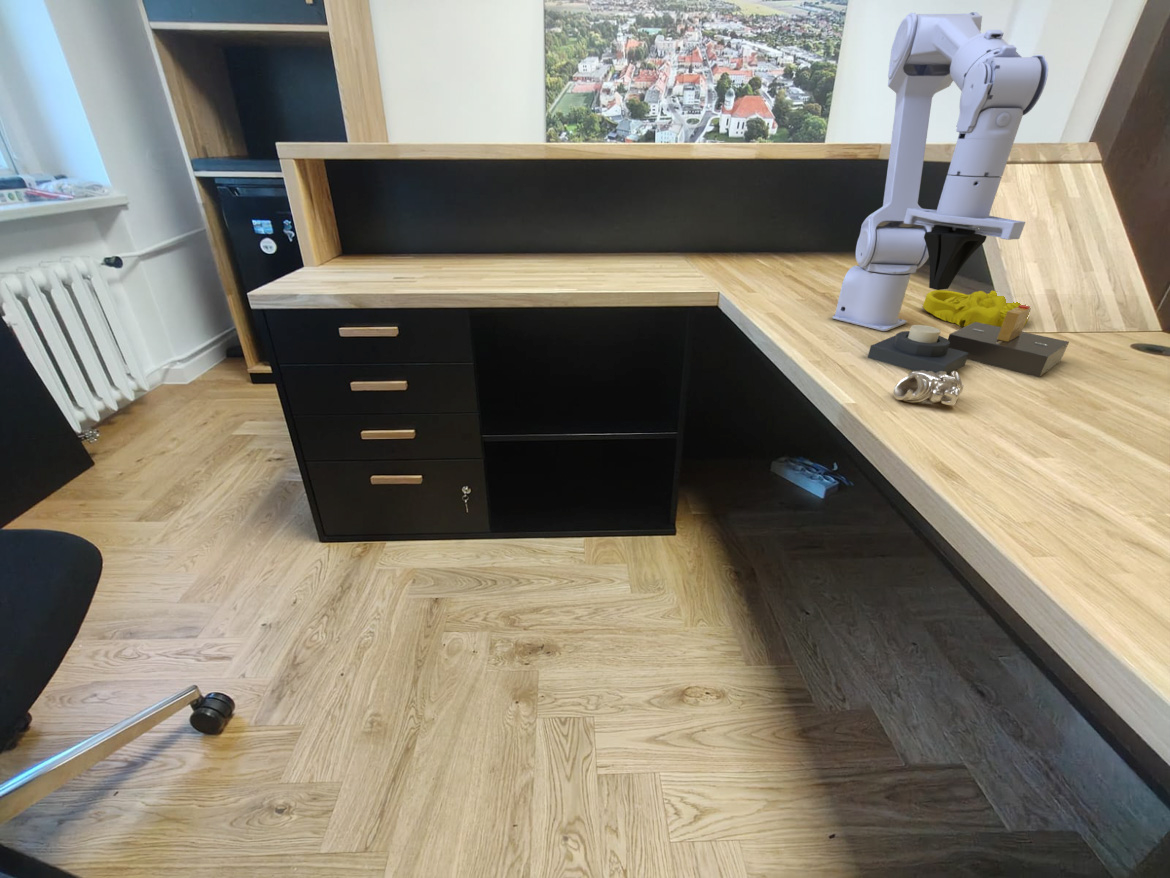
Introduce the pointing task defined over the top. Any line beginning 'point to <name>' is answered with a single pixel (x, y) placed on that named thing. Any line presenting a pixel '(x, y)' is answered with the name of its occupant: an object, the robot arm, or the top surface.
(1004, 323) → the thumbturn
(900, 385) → the ornament
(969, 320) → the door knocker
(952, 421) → the top surface
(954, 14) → the robot arm
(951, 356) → the doorbell
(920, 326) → the bell button
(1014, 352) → the plate
